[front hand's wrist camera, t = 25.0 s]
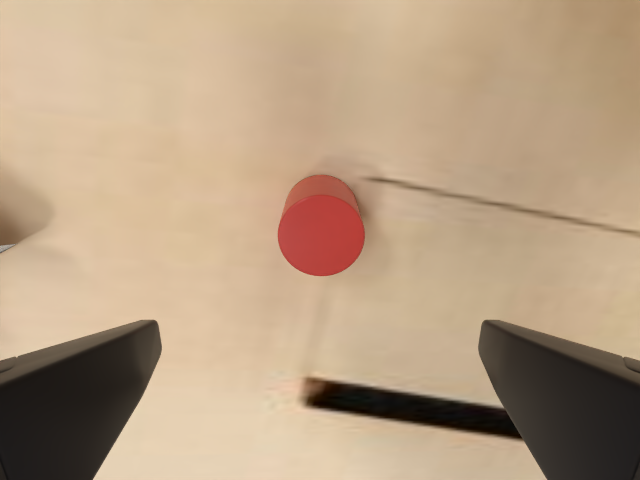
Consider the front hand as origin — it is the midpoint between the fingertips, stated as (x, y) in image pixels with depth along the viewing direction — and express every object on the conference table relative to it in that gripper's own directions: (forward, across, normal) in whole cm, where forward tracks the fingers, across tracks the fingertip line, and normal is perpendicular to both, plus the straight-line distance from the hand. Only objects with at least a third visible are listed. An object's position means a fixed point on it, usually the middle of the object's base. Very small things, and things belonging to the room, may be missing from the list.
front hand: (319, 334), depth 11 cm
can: (+12, 0, 0) cm, 12 cm away
